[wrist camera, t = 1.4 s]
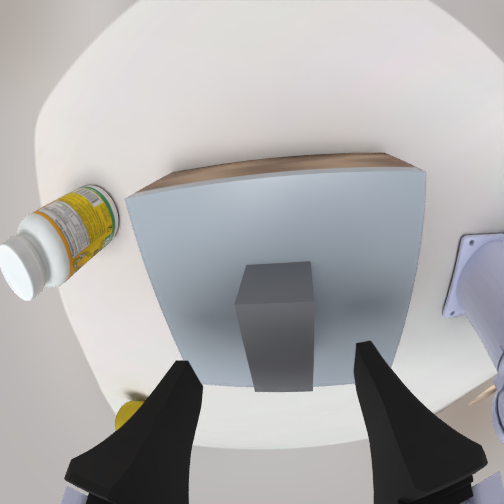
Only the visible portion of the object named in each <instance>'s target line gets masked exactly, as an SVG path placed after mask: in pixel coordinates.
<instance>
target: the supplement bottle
mask: <svg viewBox="0 0 504 504" xmlns="http://www.w3.org/2000/svg"><path fill="white" fill-rule="evenodd" d="M117 229H118V213H117V210H116V207H115V204H114V202H113V200H112V199H111V197H110V196H109V195H108V194H107V193H106V192H105V191H104V190H102V189H101V188H99V187H97V186H93V185H87V186H83V187H81V188H79V189H77V190H74V191H72V192H70V193H68V194H66V195H64V196H62V197H60V198H58V199H57V200H55V201H53V202H51V203H49V204H47V205H45V206H44V207H42V208H40V209H38V210H36V211H34V212H33V213H31V214H29V215H28V216H26V217H25V218H24V219H23V220H22V221H21V223H20V225H19V227H18V230H17V235H16V236H12V237H10V238H9V239H8V240H7V241H6V242H4V243H3V244H1V245H0V267H1V270H2V273H3V275H4V277H5V279H6V281H7V282H8V284H9V286H10V287H11V288H12V290H13V291H14V292H15V293H16V294H17V295H18V296H19V297H20V298H21V299H23V300H25V301H30V300H32V299H33V298H34V297H36V296H37V295H38V294H39V293H40V292H41V291H42V290H43V288H44V286H46V287H52V288H53V287H58V286H60V285H62V284H63V283H65V282H66V281H67V280H68V279H69V278H70V277H71V276H72V275H73V274H74V273H75V272H77V271H78V270H79V269H80V268H81V267H82V266H83V265H84V264H85V263H87V262H88V261H89V260H90V259H91V258H92V257H93V256H95V255H96V254H97V253H98V252H99V251H100V250H102V249H103V248H104V247H105V246H106V245H108V244H109V243H110V242H111V241H112V239H113V238H114V236H115V234H116V232H117Z"/></svg>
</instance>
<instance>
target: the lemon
mask: <svg viewBox="0 0 504 504" xmlns="http://www.w3.org/2000/svg"><path fill="white" fill-rule="evenodd" d="M144 402H145V401H143V400H142V401H130V402H127V403H125V404H124V405H123V406H122V407H121V408H120V410H119V411H118V413H117V416H116V420H115V429H116V431H117V430H118V429H119V428H120V427H121V426H122V425H123V424H124V423H126V422H127V421H128V420H129V419H130V418H131V417H132V415H133V414H134V413H135V412H136V411H137V410H138V409H139V408H140V407H141V405H142V404H143V403H144Z"/></svg>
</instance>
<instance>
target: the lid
mask: <svg viewBox="0 0 504 504" xmlns="http://www.w3.org/2000/svg"><path fill="white" fill-rule="evenodd" d="M425 191H426V171H424V170H422V169H420V168H417V167H354V168H329V169H312V170H297V171H285V172H274V173H264V174H254V175H245V176H237V177H229V178H221V179H214V180H207V181H200V182H194V183H187V184H181V185H175V186H170V187H164V188H159V189H153V190H148V191H143V192H138V193H134V194H132V195H131V196H129V197H127V198H125V202H126V206H127V209H128V213H129V216H130V220H131V223H132V227H133V230H134V233H135V237H136V240H137V243H138V246H139V249H140V252H141V255H142V258H143V261H144V264H145V267H146V270H147V273H148V275H149V278H150V281H151V284H152V286H153V289H154V292H155V294H156V297H157V300H158V302H159V305H160V307H161V310H162V312H163V315H164V317H165V319H166V322H167V324H168V327H169V329H170V331H171V334H172V336H173V338H174V341H175V343H176V345H177V347H178V349H179V352H180V354H181V356H182V358H183V360H184V361H186V360H188V361H189V363H190V365H191V366H192V368H193V370H194V372H195V373H196V375H197V377H198V379H199V380H200V382H201V384H207V385H220V386H235V387H254V389H255V392H304V391H313V387H316V386H332V385H344V384H354V383H355V379H354V373H353V370H354V361H355V350H356V343H360V342H365V341H369V340H370V341H372V342H373V344H374V345H375V347H376V348H377V350H378V351H379V353H380V354H381V356H382V357H383V358H384V360H385V361H386V362H387V364H388V365H389V366H390V368H391V366H392V363H393V361H394V357H395V354H396V351H397V348H398V345H399V342H400V338H401V335H402V331H403V328H404V324H405V320H406V316H407V312H408V308H409V304H410V300H411V295H412V290H413V286H414V281H415V275H416V270H417V264H418V258H419V251H420V244H421V237H422V228H423V219H424V207H425Z"/></svg>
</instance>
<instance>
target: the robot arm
mask: <svg viewBox="0 0 504 504" xmlns="http://www.w3.org/2000/svg"><path fill="white" fill-rule="evenodd" d="M471 240H472V241H471ZM470 241H471V243H470ZM464 314H466V316H467V318H468V319H469V321H470V322H471V324H472V326H473V327H474V329H475V331H476V332H477V334H478V336H479V338H480V339H481V341H482V343H483V345H484V347H485V348H486V350H487V352H488V354H489V356H490V358H491V360H492V362H493V364H494V366H495V368H496V370H497V372H498V374H497V376H496V378H495V379H494V381H493V382H494V384H495V386H496V389H497V393H496V394H495V396H494V399H493V402H492V409H491V415H492V422H493V426H494V429H495V432H496V434H497V435H498V437H499V439H500V440H501V441H502V443H503V444H504V233H500V234H482V235H466V236H464V237H463V238H462V239H461V243H460V248H459V253H458V258H457V262H456V267H455V271H454V275H453V279H452V283H451V286H450V290H449V293H448V297H447V300H446V304H445V307H444V310H443V316H444V317H445V318H449V317H454V316H460V315H464ZM353 373H354V379H355V385H356V391H357V395H358V399H359V402H360V406H361V410H362V413H363V417H364V421H365V425H366V428H367V432H368V437H369V442H370V449H371V458H372V469H373V485H374V504H504V489H503V484H502V480H501V476H500V472H497V473H495V474H493V475H492V476H490V477H488V478H487V479H485V480H484V481H482V482H480V483H478V484H476V485H474V486H472V487H471V482H473V476H472V475H473V474H474V473H476V472H477V471H479V470H480V469H482V468H483V467H485V466H486V465H487V463H488V462H487V458H486V455H485V452H484V450H483V448H482V446H481V445H479V444H478V443H476V442H474V441H472V440H470V439H468V438H467V437H465V436H463V435H462V434H460V433H459V432H457V431H456V430H454V429H452V428H451V427H450V426H449V425H447V424H446V423H445V422H443V421H442V420H441V419H439V418H438V417H437V416H436V415H434V414H433V413H432V412H431V411H430V410H429V409H428V408H426V407H425V406H424V405H423V404H422V403H421V402H420V401H419V400H418V399H417V398H416V397H415V396H414V395H413V394H412V393H411V391H410V390H409V389H408V388H407V387H406V386H405V385H404V384H403V383H402V381H401V380H400V379H399V378H398V376H397V375H396V374H395V373H394V372H393V370H392V369H391V368H390V366H389V365H388V364H387V362H386V361H385V360H384V358H383V357H382V356H381V354H380V353H379V351H378V350H377V348H376V347H375V345H374V344H373V342H372V341H370V340H369V341H365V342H360V343H356V350H355V361H354V370H353ZM202 393H203V385H202V384H201V382H200V380H199V379H198V377H197V375H196V373H195V372H194V370H193V368H192V366H191V365H190V363H189V361H188V360H186V361H175V363H174V364H173V365H172V367H171V368H170V369H169V371H168V372H167V373H166V375H165V376H164V377H163V379H162V380H161V381H160V383H159V384H158V385H157V387H156V388H155V389H154V391H153V392H152V393H151V394H150V396H149V397H148V398H147V400H146V401H145V402H144V403H143V404H142V405H141V407H140V408H139V409H138V410H137V411H136V412H135V413H134V414H133V415H132V417H131V418H130V419H129V420H128V421H127V422H126V423H124V424H123V425H122V426H121V427H120V428H119V429H118V430H117V431H115V432H114V433H113V434H112V435H111V436H109V437H108V438H107V439H105V440H104V441H103V442H101V443H100V444H98V445H97V446H95V447H94V448H92V449H90V450H89V451H87V452H85V453H83V454H81V455H79V456H77V457H75V458H73V459H72V460H71V462H70V464H69V467H68V469H67V472H66V475H65V478H64V479H65V480H66V481H68V482H69V483H71V484H73V485H75V486H77V487H79V488H81V489H83V490H85V491H87V492H89V495H88V496H86V495H84V494H82V493H80V492H78V491H76V490H74V489H73V488H71V487H67V488H66V491H65V494H64V497H63V500H62V503H61V504H189V493H188V492H189V467H190V457H191V450H192V444H193V440H194V436H195V431H196V427H197V423H198V418H199V414H200V409H201V404H202Z"/></svg>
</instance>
